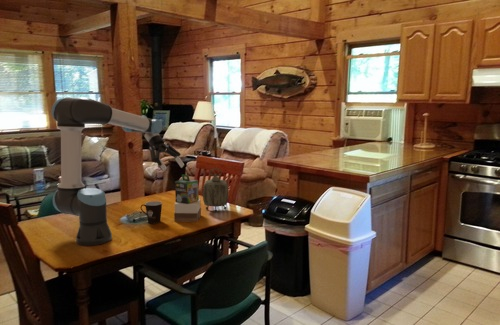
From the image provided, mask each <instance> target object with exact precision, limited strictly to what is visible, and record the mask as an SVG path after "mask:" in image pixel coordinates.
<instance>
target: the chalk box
mask: <svg viewBox="0 0 500 325" xmlns="http://www.w3.org/2000/svg"><path fill="white" fill-rule="evenodd" d="M181 177H182V179H179V180H176V181H174V192H175V203H176V202H180V203H185V204H189V203H192V202H195V201H198V200H199V199H200V198H199V197H200V196H199V180H198V179H193V178H192V179H190V177H189V174H188V175H187V174H181ZM185 177H186V178H185Z"/></svg>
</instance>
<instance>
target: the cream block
mask: <svg viewBox="0 0 500 325" xmlns="http://www.w3.org/2000/svg"><path fill="white" fill-rule="evenodd" d="M201 200H202V199H201V198H199V200H198V201H195V202H192V203H189V204H185V203H180V202H176V201H175V202H174V213H198V211H199V209H200V207H201V206H202V204H201Z"/></svg>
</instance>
